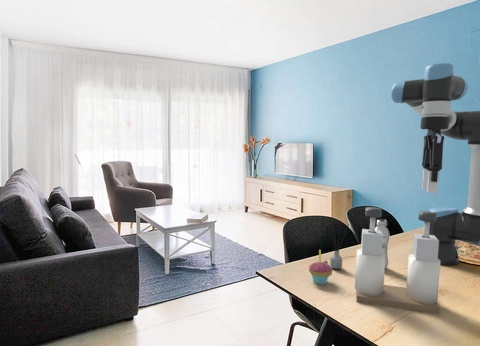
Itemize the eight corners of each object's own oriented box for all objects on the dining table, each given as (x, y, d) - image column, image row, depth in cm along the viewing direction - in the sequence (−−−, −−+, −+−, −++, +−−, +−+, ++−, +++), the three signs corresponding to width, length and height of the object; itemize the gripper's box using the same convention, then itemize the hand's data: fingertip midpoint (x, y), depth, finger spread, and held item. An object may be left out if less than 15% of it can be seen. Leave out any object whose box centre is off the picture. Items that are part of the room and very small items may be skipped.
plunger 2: (432, 240, 109) (434, 211, 108) (436, 244, 104) (438, 214, 103) (415, 238, 110) (417, 210, 109) (418, 243, 106) (420, 213, 105)
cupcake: (305, 277, 128) (306, 246, 127) (327, 276, 129) (328, 246, 128) (312, 286, 120) (313, 254, 119) (335, 286, 120) (337, 254, 119)
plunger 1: (379, 235, 114) (380, 207, 113) (380, 239, 109) (382, 210, 108) (363, 233, 115) (365, 206, 114) (364, 237, 110) (365, 209, 109)
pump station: (431, 296, 114) (436, 233, 111) (441, 314, 102) (447, 244, 100) (353, 286, 121) (357, 226, 119) (354, 301, 110) (358, 235, 107)
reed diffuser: (348, 268, 137) (351, 220, 135) (343, 274, 131) (346, 224, 129) (324, 263, 143) (326, 217, 141) (318, 268, 137) (320, 220, 135)
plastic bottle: (389, 272, 134) (392, 223, 132) (371, 270, 136) (374, 221, 134) (386, 266, 141) (389, 219, 139) (368, 264, 142) (371, 218, 140)
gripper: (415, 118, 113) (410, 185, 116) (429, 114, 95) (422, 194, 97) (440, 118, 111) (434, 187, 114) (459, 114, 93) (452, 196, 95)
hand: (429, 190), depth 105 cm, fingers open, 6 cm apart
